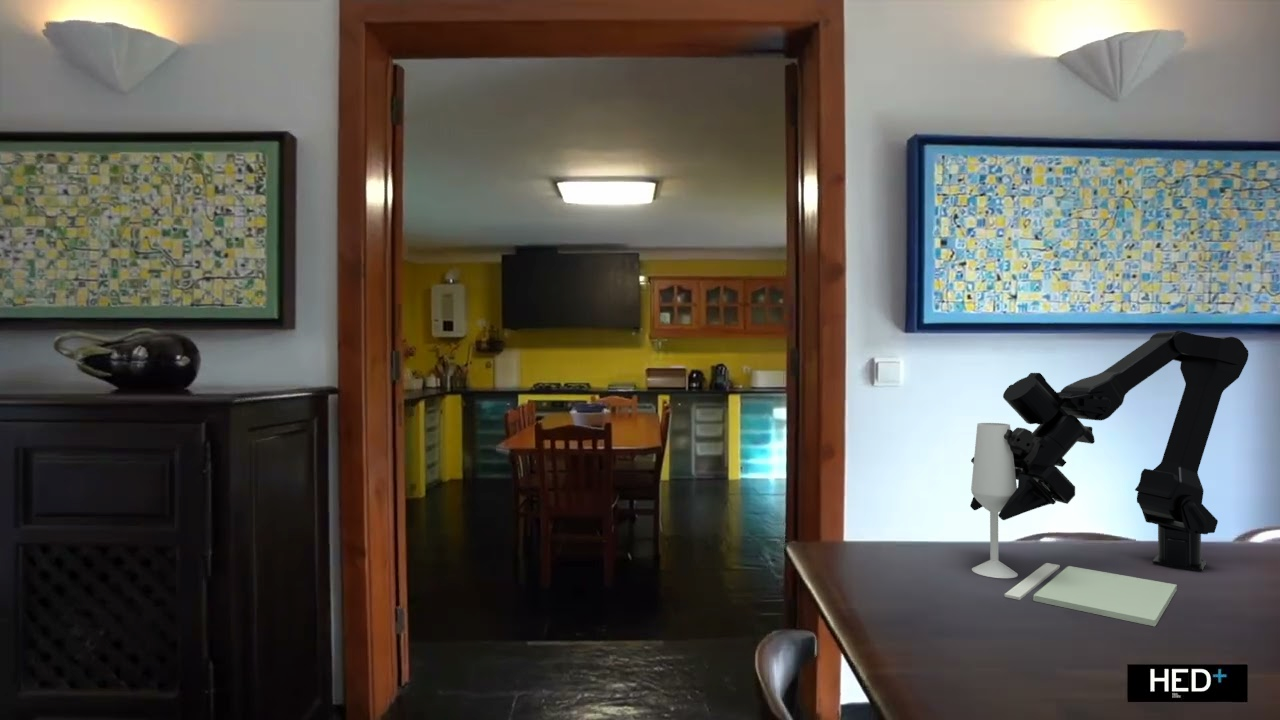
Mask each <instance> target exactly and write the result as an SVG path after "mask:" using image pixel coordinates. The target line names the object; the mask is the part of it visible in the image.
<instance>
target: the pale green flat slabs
mask: <svg viewBox="0 0 1280 720" xmlns="http://www.w3.org/2000/svg"><path fill="white" fill-rule="evenodd" d="M1060 567H1061V566H1060V564H1055V563H1049V562H1046V563H1044V564H1042V565H1041V566H1040V567H1039V568H1037V569H1036V570H1034V571H1033V572H1032V573H1031V574H1029V575H1028V576H1026V577H1025V578H1024V579H1022V580H1021V581H1020V582H1019V583H1017V584H1016V585H1015V586H1013V587H1012V588H1010V589H1009V590H1008V591H1007V592H1004V596H1003V597H1005V598H1007V599H1014V600H1018V601H1021V600H1022V599H1023V598H1024V597H1025V596H1027V595H1028V594H1029V593H1030V592H1032V591H1033V590H1034V589H1035V588H1037V587H1038V586H1039V585H1040V584H1042V583H1043V582H1044V581H1045V580H1046V579H1048V578H1049V577H1050V576H1052V575H1053V574H1054V573H1055V572H1056V571H1058V570H1059V569H1060ZM1177 588H1178V585H1177V584H1174V583H1169V582H1163V581H1157V580H1153V579H1146V578H1141V577H1140V578H1139V577H1135V576H1130V575H1129V576H1128V575H1123V574H1117V573H1113V572H1112V573H1111V572H1105V571H1099V570H1094V569H1088V568H1085V567H1084V568H1083V567H1076V566H1072V565H1068V566H1066V567H1065V568H1064V569H1063V570H1062V571H1060V572H1059V573H1058V574H1057V575H1056V576H1054V577H1053V578H1052V579H1051V580H1049V582H1047V583H1046V584H1045V585H1044V586H1042V587H1041V588H1040V589H1039V590H1038V591H1036V592H1035V593H1034V594H1033V602H1037V603H1042V604H1047V605H1051V606H1056V607H1060V608H1065V609H1071V610H1073V611H1074V610H1075V611H1080V612H1084V613H1089V614H1095V615H1098V616H1104V617H1108V618H1112V619H1117V620H1121V621H1122V620H1123V621H1127V622H1131V623H1136V624H1140V625H1146V626H1150V627H1154V628H1155V627H1156V626H1157V624H1158V623H1159V621H1160V619H1161V618H1162V616H1163V614H1164V613H1165V610H1166V609H1167V607H1168V606H1169V604H1170V602H1171V600H1172V599H1173V597H1174V596H1175V594H1176V592H1177V591H1178V589H1177Z"/></svg>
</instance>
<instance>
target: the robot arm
mask: <svg viewBox="0 0 1280 720" xmlns="http://www.w3.org/2000/svg"><path fill="white" fill-rule="evenodd" d="M1248 359H1249V350H1248V349H1247V347H1246V346H1245V344H1244V343H1243V341H1242V340H1241V339H1239V338H1237V337H1234V336H1218V337H1216V336H1215V337H1214V336H1206V335H1200V334H1194V333H1191V332H1187V331H1184V330H1170V331H1169V330H1168V331H1167V330H1166V331H1165V330H1164V331H1158V332H1156V333H1154V334H1153V335H1152V336H1150V337H1149V339H1147V341H1145V342H1143V343H1142V344H1141V345H1139V346H1138V347H1137V348H1135V349H1134V350H1132V351H1130V352H1129V353H1128V354H1126V355H1125V356H1123V357H1122V358H1121V359H1120V360H1118V361H1117V362H1115V363H1114V364H1112V365H1111V366H1109V367H1108V368H1107V369H1105V370H1104V371H1102V372H1100V373H1097V374H1095V375H1091V376H1087V377H1084V378H1081V379H1079V380H1077V381H1074V382H1072V383H1070V384H1068V385H1065V386H1064V387H1063V388H1062V389H1060V391H1058V392H1057V391H1056V390H1055V389H1054V388H1053V387H1052V386H1051V385H1050V384H1049V383H1048V382H1047V380H1046V378H1045V377H1044V375H1043V374H1041V372H1029V374H1028V375H1027V376H1026V377H1023V378H1021V379H1018V380H1017V381H1016V382H1014V383H1013V384H1010V385H1009V386H1008V387H1007V388H1005V391H1004V392H1003V395H1002V397H1003V399H1004V401H1006V403H1008V405H1009V406H1010V407H1011V408H1012V409H1013V410H1014V411H1015V412H1016V413H1017V415H1018V416H1020V417H1021V419H1022V420H1024V422H1025V423H1026V424H1029V425H1038V426H1037V427H1036V428H1035V429H1034V430H1033V431H1031V430H1030V429H1028V428H1026V427H1025V428H1023V427H1016V428H1014V430H1013V429H1011V430H1009V429H1007V432H1006V434H1005V435H1004V439H1006V440H1007V442H1008V444H1009V445H1010V449H1011V451H1012V452H1013V456H1014V465H1015V474H1016V481H1017V484H1018V485H1017V489H1016V491H1015V492H1014V493H1013V495H1012V496H1011V497H1010V499H1009V500H1008V501H1007V503H1006V504H1005V505H1004V507H1003V508H1002V510H1001V511H1000V512H998V518H1000V519H1001V520H1002V521H1006V520H1008V519H1011V518H1014V517H1016V516H1019V515H1021V514H1024V513H1027V512H1031V511H1033V510H1035V509H1040V508H1041V507H1045V506H1048V505H1054V504H1056V502H1059V503H1063V504H1066V505H1067V504H1069V503H1070V502H1071V500H1072V499H1074V497H1075V496H1076V486H1075V485H1074V484H1073V483H1072V482H1071V481H1070V479H1069V478H1067V476H1065V474H1064V473H1063V472H1062V471H1061V470H1060V469H1059V468H1058V467H1061V468H1063V467H1064V466H1065V465H1066V464H1067V461H1066V460H1065V459H1064V457H1065V456H1066V455H1067V453H1068V452H1069V451H1071V449H1072V448H1073V447H1074V445H1076V443H1077V442H1079V443H1085V444H1090V445H1091V444H1093V445H1094V443H1095V436H1094V433H1093V427H1092V426H1086V425H1084V424H1083V423H1082V422H1081V419H1082V420H1090V421H1105V420H1106V419H1108V418H1110V417H1111V416H1112V415H1114V413H1115V412H1116V411H1117V410H1118V409H1119V408H1120V407H1121V406H1122V405H1123V403H1124V401H1125V397H1126V395H1127V394H1128V393H1129V392H1130V391H1131V390H1132V389H1134V388H1135V387H1137V386H1138V385H1140V383H1143V381H1145V380H1146V379H1148V378H1149V377H1151V376H1153V375H1154V374H1155V373H1156V372H1158V371H1159V370H1161V369H1163V367H1165V366H1166V365H1168V364H1169V363H1171V362H1173V361H1175V362H1180V366H1179V370H1180V372H1181V375H1182V378H1183V379H1184V380H1183V381H1184V384H1185V386H1184V389H1183V392H1182V396H1181V399H1180V402H1179V406H1178V407H1177V412H1176V414H1175V417H1174V421H1173V424H1172V426H1171V431H1170V434H1169V437H1168V440H1167V444H1166V446H1165V449H1164V452H1163V456H1162V459H1161V461H1160V463H1159V464H1157V466H1156V467H1155V468H1153V469H1148V468H1144V469H1142V471H1141V474H1140V478H1139V483H1138V485H1137V487H1136V488H1134V490H1135V492H1137V496H1136V502H1137V504H1138V505H1139V507H1140V510H1141V511H1142V514H1143V517H1144V520H1145V522H1146V523H1149V524H1153V525H1157V555H1156V556H1155V557H1154V558H1153V560H1152V563H1153V564H1155V565H1159V566H1160V565H1161V566H1166V567H1172V568H1178V569H1179V568H1180V569H1185V570H1192V571H1197V572H1203V571H1204V569H1205V566H1206V565H1207V561H1206V560H1204V559H1202V535H1208V534H1214V533H1215V532H1216V529H1217V525H1218V523H1219V521H1218V518H1216V517H1215V516H1214V515H1213V514H1212V512H1211V511H1210V510H1209V509H1208V508H1207V507H1205V505H1204V504H1203V498H1204V488H1203V484H1202V482H1201V479H1200V477H1199V474H1198V473H1199V467H1200V464H1201V463H1202V462H1201V461H1202V459H1203V455H1204V451H1205V450H1206V449H1205V448H1206V446H1207V442H1208V440H1209V436H1210V433H1211V430H1212V427H1213V424H1214V421H1215V417H1216V414H1217V411H1218V408H1219V404H1220V401H1221V398H1222V395H1223V392H1224V391H1225V390H1226V389H1227V388H1229V387H1230V386H1231V385H1232V384H1233V383H1235V381H1237V380H1238V379H1239V378H1240V376H1241V375H1242V373H1243V370H1244V368H1245V366H1246V364H1247V362H1248V361H1249V360H1248ZM970 461H971V463H972V464H973V465H974V456H973V457H972V458H971V460H970ZM969 507H970V508H971V509H972V510H973V511H977V510H979V509H981V508H984V507H983V506H982V505H981V504H980V503H979V502H978V501H977V500H976V499H975V497H974V496H973V497H972V499H971V502H970V506H969Z"/></svg>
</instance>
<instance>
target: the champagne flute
mask: <svg viewBox="0 0 1280 720" xmlns="http://www.w3.org/2000/svg"><path fill="white" fill-rule="evenodd" d="M976 426H977V427H976V436H975V444H974V445H975V446H974V456H973V457H974V464H973V467H972V478H971V488H970V490H971V494H972V496H973V497H975V499H976V500H977V501H978V502H979V503H980V504H981V505H982V506H983V507H982V508H984V510H986V511H988V512H989V519H990V520H989V523H990V524H989V528H990V529H989V533H990V534H989V535H990V536H989V539H990V543H989V544H990V546H989V547H990V548H989V549H990V550H989V551H990V554H989V555H990V556H989V558H990V559H988V560H985V561H984V562H982V563H981V564H978V565H976V566H974V567H972V568H971V571H972V572H973V573H974V574H978V575H980V576H984V577H988V578H996V579H1013V578H1017V577H1018V575H1019V573H1017V572H1016V571H1014V570H1013V569H1011V568H1010V567H1008V565H1006V564H1004V563H1003V562H1001V561H1000V560H999V516H998V515H999V513H1000V511H1001V510H1002V508H1003V507H1004V505H1005V504H1006V503H1007V501H1008V500H1009V499H1010V497H1011V496H1012V495H1013V493H1014V492H1015V491H1016V489H1017V488H1018V485H1017V484H1018V482H1017V480H1016V474H1015V465H1014V456H1013V452H1012V451H1011V449H1010V445H1009V444H1008V442H1007V440H1006V439H1004V435H1005V434H1006V432H1007V429H1009V430H1012V429H1011V424H1009V423H1003V422H1002V423H1001V422H1000V423H999V422H979V423H978V422H977V425H976Z"/></svg>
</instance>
